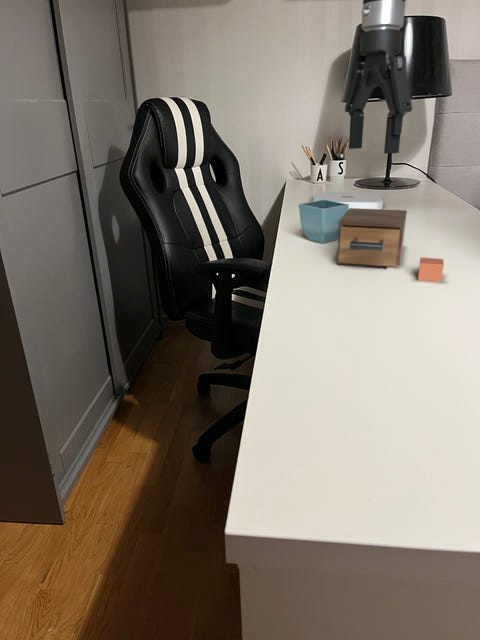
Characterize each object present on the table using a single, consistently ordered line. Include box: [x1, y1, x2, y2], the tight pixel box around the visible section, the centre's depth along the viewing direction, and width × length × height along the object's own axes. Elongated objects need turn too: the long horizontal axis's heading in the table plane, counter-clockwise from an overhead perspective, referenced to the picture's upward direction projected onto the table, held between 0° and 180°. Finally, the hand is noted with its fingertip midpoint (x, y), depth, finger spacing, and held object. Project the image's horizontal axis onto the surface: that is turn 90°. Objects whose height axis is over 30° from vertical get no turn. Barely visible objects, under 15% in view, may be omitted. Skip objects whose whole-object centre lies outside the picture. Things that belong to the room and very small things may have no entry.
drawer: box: [339, 225, 400, 268], centre depth 103 cm, size 19×11×7 cm, turn 161°
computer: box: [312, 190, 384, 210], centre depth 167 cm, size 22×22×3 cm
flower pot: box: [298, 200, 349, 244], centre depth 122 cm, size 9×9×9 cm
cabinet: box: [336, 208, 408, 269], centre depth 108 cm, size 15×13×9 cm
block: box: [417, 257, 445, 283], centre depth 93 cm, size 4×4×4 cm
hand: (372, 150), depth 101 cm, fingers open, 13 cm apart
